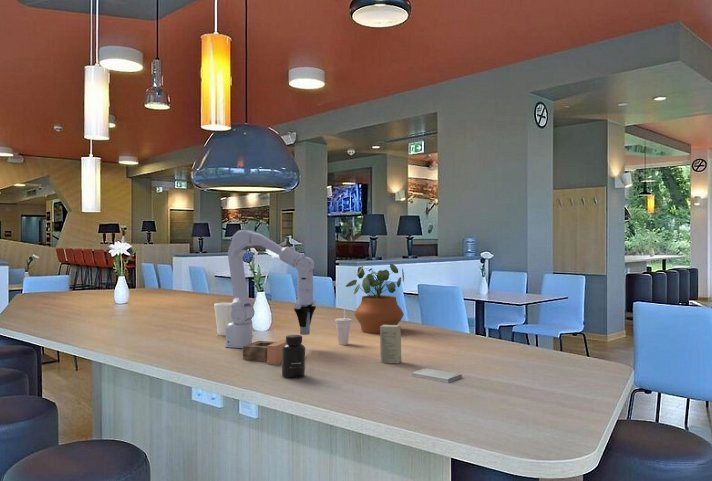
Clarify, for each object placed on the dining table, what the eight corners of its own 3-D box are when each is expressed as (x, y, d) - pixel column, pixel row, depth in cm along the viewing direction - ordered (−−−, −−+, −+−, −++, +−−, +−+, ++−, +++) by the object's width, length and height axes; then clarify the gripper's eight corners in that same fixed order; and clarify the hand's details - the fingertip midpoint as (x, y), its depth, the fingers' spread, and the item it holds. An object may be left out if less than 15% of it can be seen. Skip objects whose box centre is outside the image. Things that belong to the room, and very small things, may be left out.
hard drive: (462, 373, 169) (426, 367, 177) (448, 379, 162) (411, 372, 170) (462, 379, 169) (426, 372, 177) (448, 384, 162) (411, 377, 170)
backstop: (267, 364, 185) (267, 345, 185) (290, 353, 202) (291, 336, 202) (275, 364, 184) (275, 346, 184) (298, 354, 201) (298, 337, 201)
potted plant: (385, 336, 238) (385, 265, 238) (333, 330, 255) (333, 263, 255) (413, 330, 257) (413, 263, 257) (362, 324, 274) (363, 262, 274)
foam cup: (241, 333, 244) (241, 303, 244) (225, 336, 236) (225, 305, 236) (225, 331, 249) (225, 302, 249) (209, 334, 241) (209, 304, 241)
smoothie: (349, 345, 218) (349, 309, 218) (333, 345, 219) (333, 308, 219) (352, 343, 224) (353, 307, 224) (336, 342, 225) (337, 307, 225)
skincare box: (401, 361, 190) (401, 325, 190) (398, 364, 186) (398, 326, 186) (383, 360, 192) (383, 323, 192) (379, 362, 188) (379, 325, 188)
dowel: (298, 334, 210) (298, 312, 210) (302, 333, 213) (302, 311, 213) (307, 335, 209) (307, 313, 209) (311, 333, 212) (311, 312, 212)
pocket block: (242, 359, 192) (242, 346, 192) (258, 353, 202) (258, 340, 202) (272, 361, 188) (272, 348, 188) (286, 355, 199) (286, 342, 199)
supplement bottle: (295, 380, 164) (295, 338, 164) (277, 377, 168) (277, 336, 168) (309, 375, 170) (309, 335, 170) (291, 372, 174) (291, 333, 174)
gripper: (307, 291, 203) (307, 329, 203) (322, 288, 217) (322, 324, 217) (289, 290, 205) (289, 328, 205) (305, 287, 219) (305, 323, 219)
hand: (304, 326), depth 211 cm, fingers closed on dowel, 3 cm apart
